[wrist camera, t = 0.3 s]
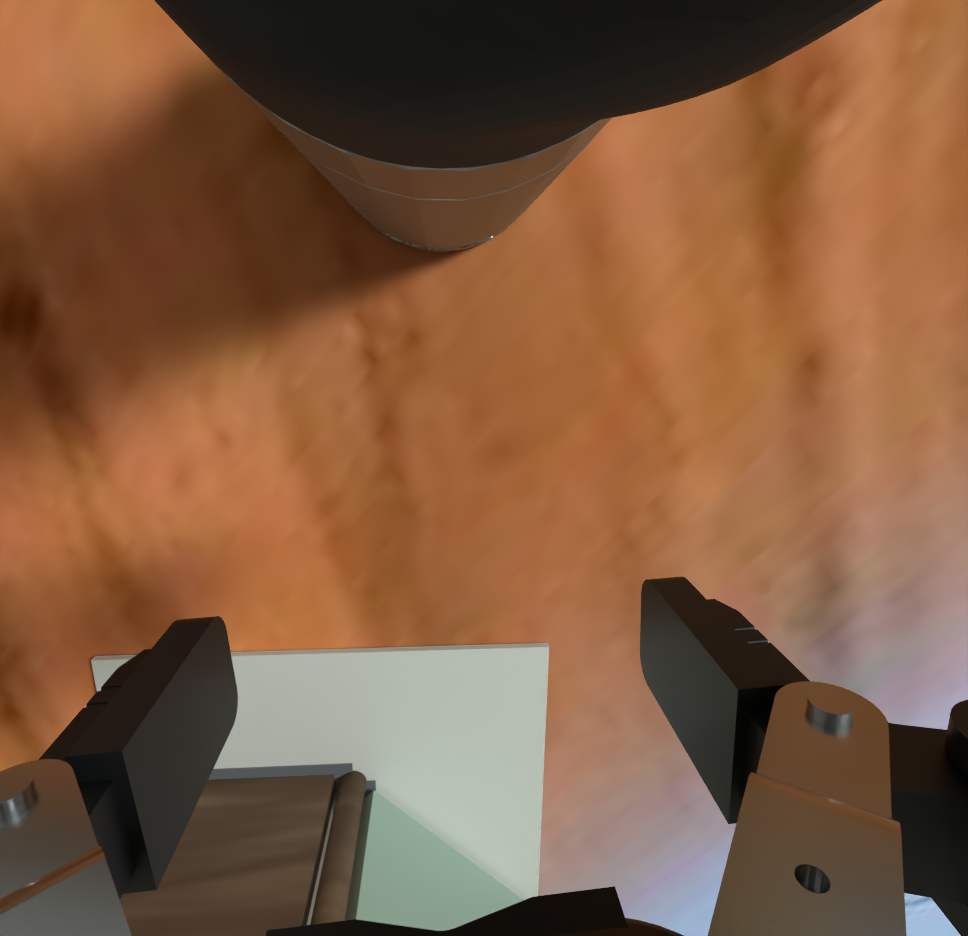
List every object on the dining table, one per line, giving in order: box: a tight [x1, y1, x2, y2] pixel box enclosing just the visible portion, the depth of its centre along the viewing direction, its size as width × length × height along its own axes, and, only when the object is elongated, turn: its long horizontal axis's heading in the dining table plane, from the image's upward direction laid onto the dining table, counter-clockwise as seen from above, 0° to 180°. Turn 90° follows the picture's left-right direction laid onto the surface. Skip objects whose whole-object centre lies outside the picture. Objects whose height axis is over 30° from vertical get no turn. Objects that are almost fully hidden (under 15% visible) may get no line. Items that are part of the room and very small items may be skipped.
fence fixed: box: [120, 771, 366, 936], centre depth 26 cm, size 2×13×13 cm, turn 89°
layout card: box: [91, 643, 549, 925], centre depth 34 cm, size 23×23×1 cm
